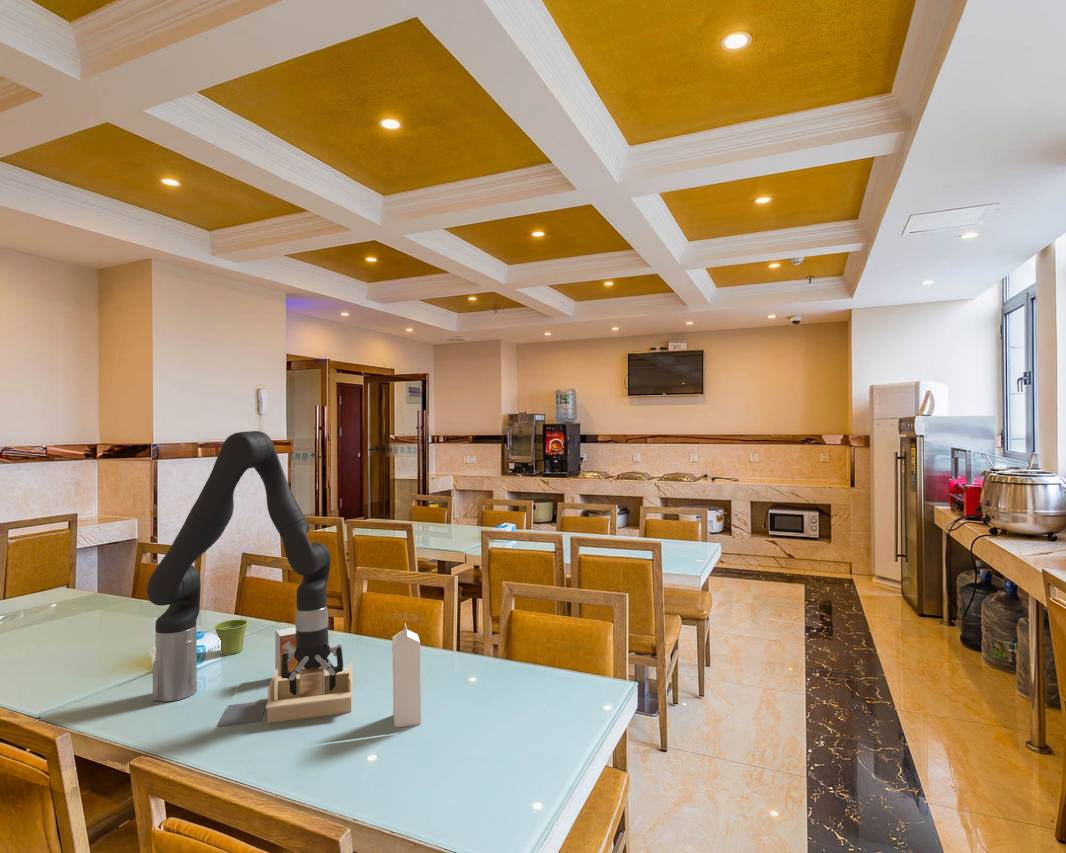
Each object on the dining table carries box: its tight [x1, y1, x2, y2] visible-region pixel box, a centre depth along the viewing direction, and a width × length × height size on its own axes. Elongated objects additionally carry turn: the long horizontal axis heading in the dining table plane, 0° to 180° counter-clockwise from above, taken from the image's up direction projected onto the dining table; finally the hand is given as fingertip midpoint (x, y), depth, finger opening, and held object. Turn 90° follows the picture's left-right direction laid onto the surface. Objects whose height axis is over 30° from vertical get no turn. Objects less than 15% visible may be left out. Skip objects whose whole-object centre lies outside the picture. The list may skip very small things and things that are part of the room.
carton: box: [265, 660, 354, 724], centre depth 149 cm, size 19×18×8 cm
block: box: [300, 665, 325, 698], centre depth 149 cm, size 5×8×9 cm, turn 15°
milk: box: [391, 622, 422, 728], centre depth 141 cm, size 6×6×22 cm
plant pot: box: [213, 619, 249, 656], centre depth 188 cm, size 9×9×9 cm
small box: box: [274, 626, 302, 677], centre depth 167 cm, size 8×6×13 cm
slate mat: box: [217, 700, 268, 728], centre depth 145 cm, size 9×11×1 cm
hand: (313, 691), depth 149 cm, fingers open, 8 cm apart
